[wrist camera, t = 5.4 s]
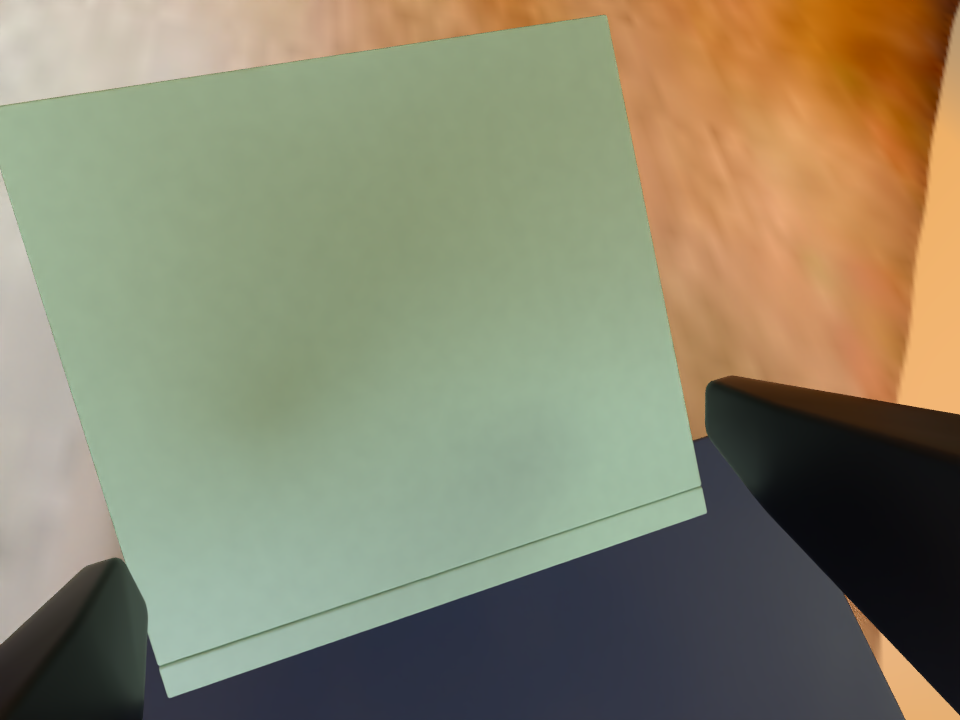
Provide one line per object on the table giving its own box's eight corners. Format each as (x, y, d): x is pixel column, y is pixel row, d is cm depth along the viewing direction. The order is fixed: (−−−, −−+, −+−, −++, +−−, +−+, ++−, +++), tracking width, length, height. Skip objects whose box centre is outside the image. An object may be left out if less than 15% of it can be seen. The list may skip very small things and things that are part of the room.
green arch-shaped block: (708, 513, 13) (607, 13, 12) (167, 700, 11) (-21, 107, 9) (591, 453, 19) (516, 116, 17) (227, 565, 16) (115, 188, 15)
